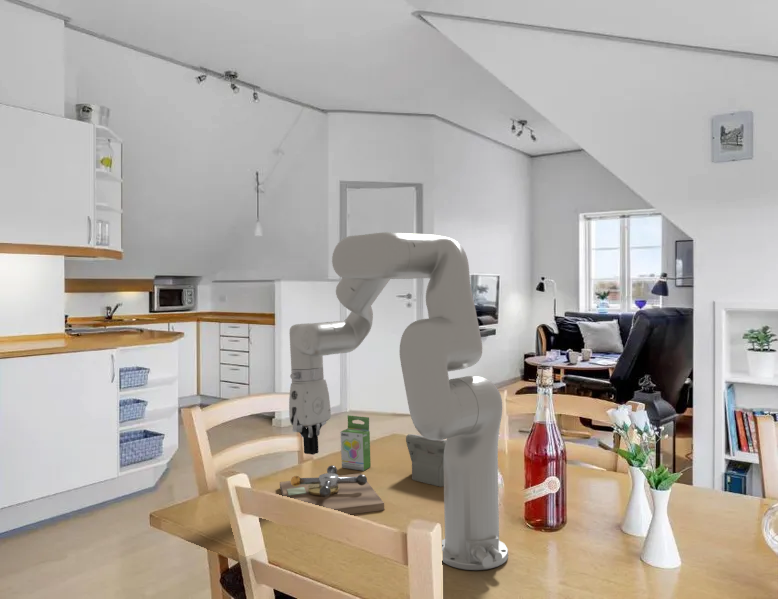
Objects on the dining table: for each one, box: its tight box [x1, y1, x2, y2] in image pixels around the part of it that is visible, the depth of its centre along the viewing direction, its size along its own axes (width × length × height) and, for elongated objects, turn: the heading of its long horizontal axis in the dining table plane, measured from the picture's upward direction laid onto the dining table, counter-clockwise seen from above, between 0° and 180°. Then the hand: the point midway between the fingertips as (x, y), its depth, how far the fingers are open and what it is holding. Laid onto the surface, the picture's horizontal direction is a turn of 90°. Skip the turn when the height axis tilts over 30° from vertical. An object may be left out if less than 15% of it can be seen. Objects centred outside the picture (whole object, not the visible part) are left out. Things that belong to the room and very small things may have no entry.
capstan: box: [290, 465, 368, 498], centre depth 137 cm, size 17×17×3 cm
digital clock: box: [405, 433, 447, 488], centre depth 149 cm, size 16×9×11 cm, turn 37°
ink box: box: [339, 414, 372, 472], centre depth 161 cm, size 7×4×13 cm, turn 61°
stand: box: [279, 473, 385, 515], centre depth 137 cm, size 22×20×2 cm
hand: (311, 453), depth 143 cm, fingers closed
